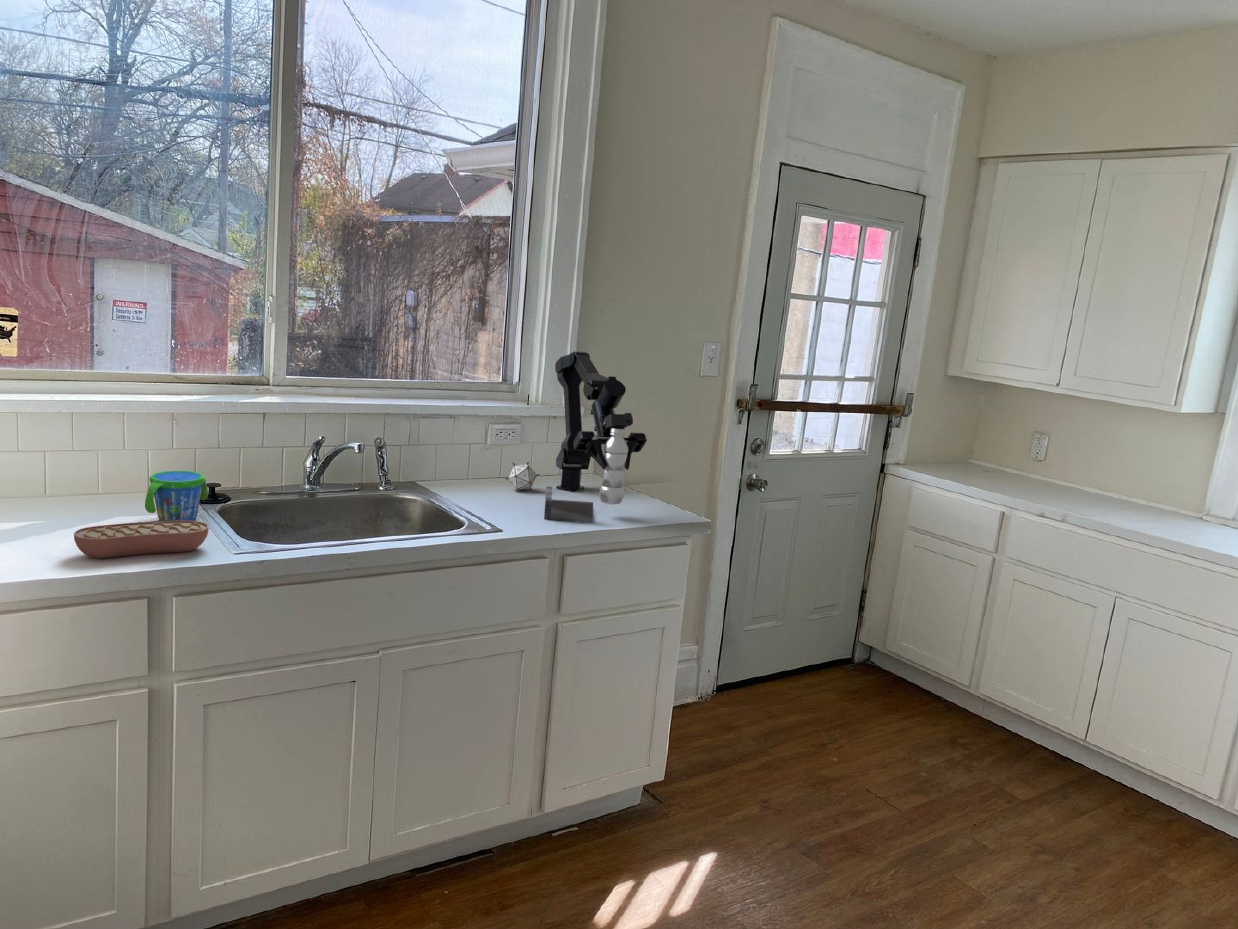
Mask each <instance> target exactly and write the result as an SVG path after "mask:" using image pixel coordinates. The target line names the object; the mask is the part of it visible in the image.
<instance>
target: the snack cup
mask: <svg viewBox="0 0 1238 929" xmlns="http://www.w3.org/2000/svg"><path fill="white" fill-rule="evenodd" d="M205 478H206V477H205V475H204V474H202V473H200V472H196V471H190V470H168V471H167V470H166V471H165V470H164V471H159V472H155V473H152V474H150V477H149V483H150V485H149V487H148V488H147V492H146V495H145V496H146V497H145V501H144V508H145V510H146V512H147V513H149V514H155V513H156V514H157V518H158V520H159V521H197V518H198V513H199V507H200V500H203V501H205V500H207V498H208V496H209V493H208V485H207V481H206V479H205Z"/></svg>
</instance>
